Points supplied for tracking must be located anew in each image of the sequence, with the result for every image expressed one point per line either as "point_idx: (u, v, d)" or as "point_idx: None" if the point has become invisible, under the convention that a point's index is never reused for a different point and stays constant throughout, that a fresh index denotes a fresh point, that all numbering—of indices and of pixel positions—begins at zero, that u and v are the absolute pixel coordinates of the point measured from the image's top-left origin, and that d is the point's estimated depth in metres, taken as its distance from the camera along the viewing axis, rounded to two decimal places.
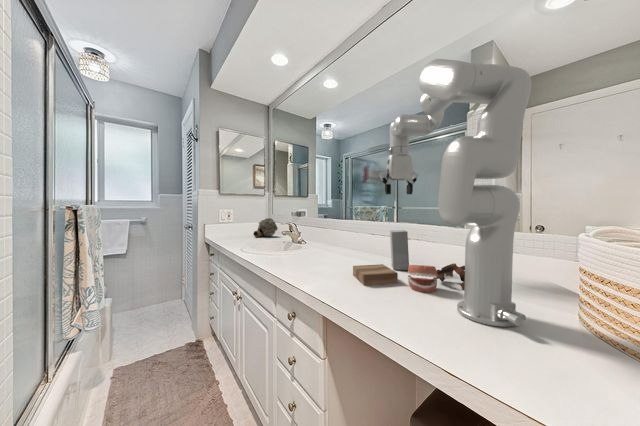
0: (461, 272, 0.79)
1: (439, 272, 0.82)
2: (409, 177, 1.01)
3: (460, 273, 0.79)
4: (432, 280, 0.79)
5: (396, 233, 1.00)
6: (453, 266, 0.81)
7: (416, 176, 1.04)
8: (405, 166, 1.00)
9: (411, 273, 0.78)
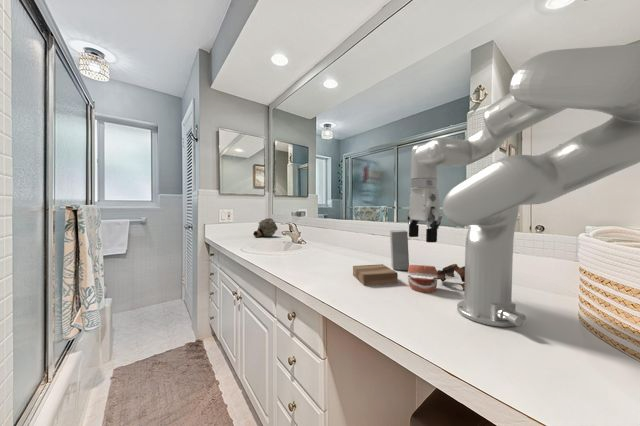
0: (462, 273, 0.79)
1: (440, 273, 0.81)
2: None
3: (461, 274, 0.78)
4: (432, 280, 0.79)
5: (396, 233, 1.00)
6: (454, 267, 0.80)
7: None
8: None
9: (411, 273, 0.78)
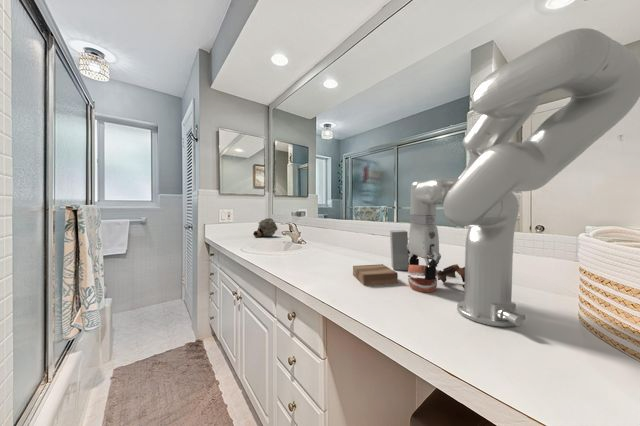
0: (463, 273, 0.78)
1: (441, 273, 0.80)
2: None
3: (462, 274, 0.78)
4: (432, 280, 0.79)
5: (396, 233, 1.00)
6: (455, 267, 0.79)
7: None
8: None
9: (411, 273, 0.78)
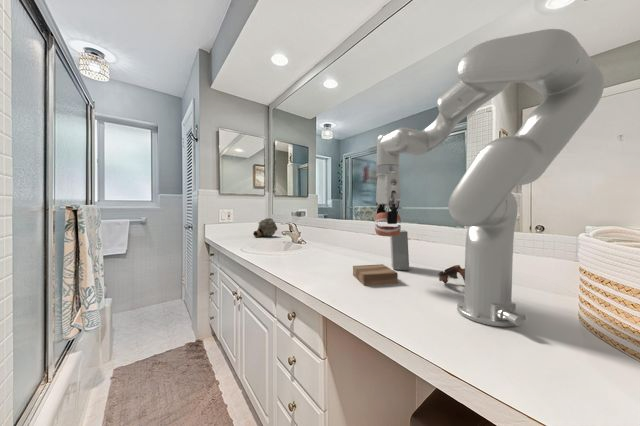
0: None
1: (443, 274, 0.79)
2: None
3: (464, 275, 0.77)
4: (396, 227, 0.86)
5: None
6: (457, 268, 0.78)
7: None
8: None
9: (376, 220, 0.85)
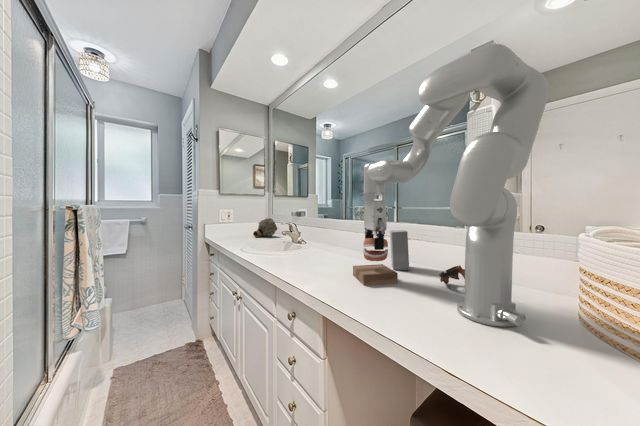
0: None
1: (444, 275, 0.79)
2: None
3: None
4: (383, 251, 0.90)
5: (396, 233, 1.00)
6: (458, 268, 0.78)
7: None
8: None
9: (364, 245, 0.88)
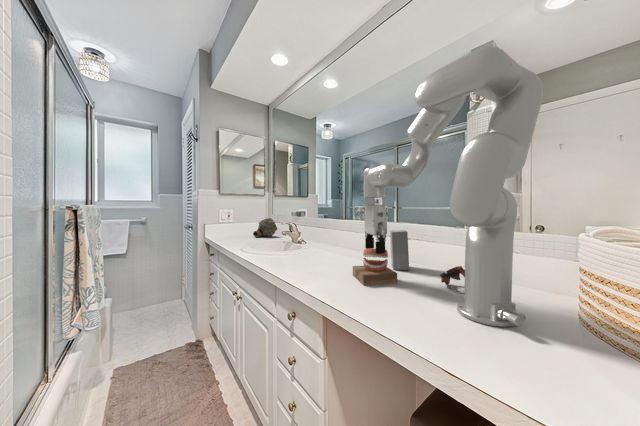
0: None
1: (445, 275, 0.78)
2: None
3: None
4: (383, 261, 0.90)
5: (396, 233, 1.00)
6: (460, 269, 0.77)
7: None
8: None
9: (364, 255, 0.89)
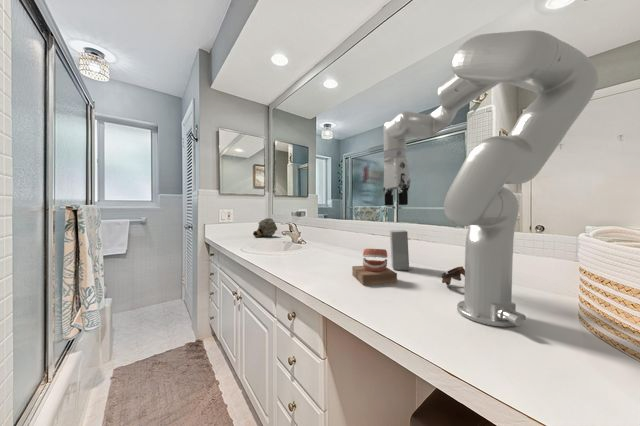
0: None
1: (446, 276, 0.78)
2: None
3: None
4: (383, 261, 0.90)
5: (396, 233, 1.00)
6: (461, 269, 0.77)
7: None
8: None
9: (364, 255, 0.89)
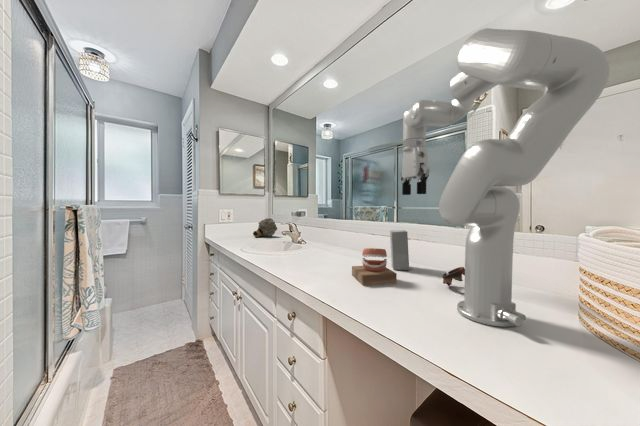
0: None
1: (447, 276, 0.77)
2: None
3: None
4: (382, 261, 0.90)
5: (396, 233, 1.00)
6: (462, 270, 0.76)
7: None
8: None
9: (364, 255, 0.89)
